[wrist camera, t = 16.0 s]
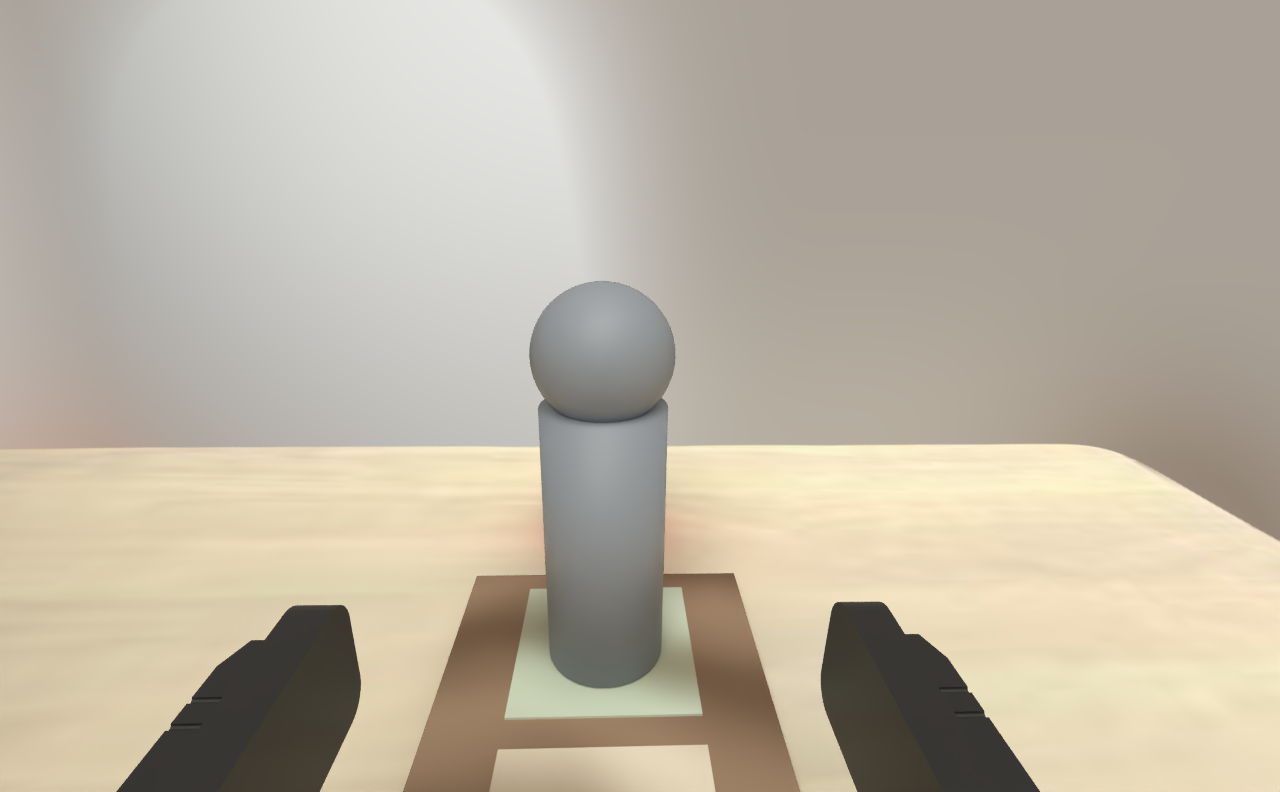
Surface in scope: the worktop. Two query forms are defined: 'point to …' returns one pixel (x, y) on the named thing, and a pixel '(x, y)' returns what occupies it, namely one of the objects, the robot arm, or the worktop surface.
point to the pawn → (603, 478)
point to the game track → (603, 704)
